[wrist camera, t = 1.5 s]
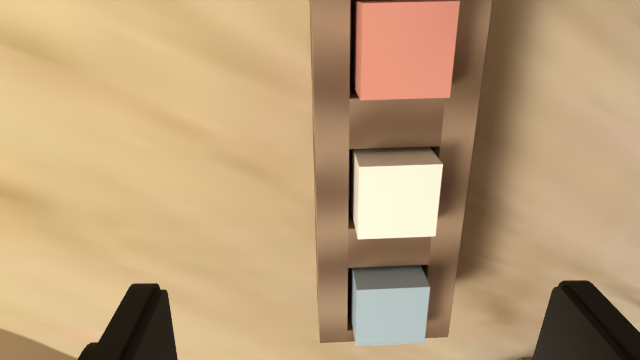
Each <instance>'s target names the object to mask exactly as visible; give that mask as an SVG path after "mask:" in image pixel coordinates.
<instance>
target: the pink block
mask: <svg viewBox="0 0 640 360" xmlns="http://www.w3.org/2000/svg"><path fill="white" fill-rule="evenodd" d="M459 6H460V1H456V0H354V9H353V87H354V89H355V90H356V92H357V94H358V96H359V98H360V100H389V99H424V98H450V92H451V83H452V73H453V63H454V54H455V44H456V35H457V25H458V15H459Z"/></svg>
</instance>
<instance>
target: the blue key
mask: <svg viewBox="0 0 640 360" xmlns="http://www.w3.org/2000/svg"><path fill="white" fill-rule="evenodd" d="M429 293H430V285H429V283H428V281H427V278H426V276H425V274H424V271H423V269H422V267H421V265H407V266H382V267H358V268H350V313H351V320H352V326H353V332H354V339H355V345H356V346H370V345H391V344H413V343H424V341H425V332H426V322H427V313H428V303H429Z"/></svg>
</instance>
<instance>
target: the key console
mask: <svg viewBox="0 0 640 360" xmlns="http://www.w3.org/2000/svg"><path fill="white" fill-rule="evenodd" d="M456 1H460V6H459V15H458V25H457V35H456V44H455V54H454V63H453V73H452V83H451V92H450V98H424V99H389V100H360V98H359V96H358V94H357V92H356V90H355V89H354V87H353V9H354V0H310V29H311V68H312V107H313V147H314V186H315V225H316V264H317V297H318V314H319V332H320V343H328V342H349V341H355V339H354V332H353V326H352V320H351V313H350V268H358V267H382V266H407V265H421V267H422V269H423V271H424V274H425V276H426V278H427V281H428V283H429V285H430V293H429V303H428V313H427V322H426V332H425V338H436V337H448V333H449V325H450V317H451V310H452V302H453V295H454V287H455V280H456V272H457V265H458V257H459V249H460V242H461V234H462V227H463V219H464V212H465V204H466V196H467V189H468V181H469V174H470V166H471V159H472V151H473V144H474V136H475V128H476V121H477V113H478V106H479V98H480V91H481V83H482V75H483V68H484V60H485V53H486V45H487V38H488V30H489V23H490V15H491V7H492V0H456ZM398 147H430V148H431V150H432V151H433V152H434V153H435V155H436V156H437V157H438V158H439V160H440V161H441V162H442V164H443V169H442V178H441V188H440V198H439V207H438V217H437V226H436V236H433V237H407V238H381V239H358V238H357V234H356V229H355V225H354V221H353V216H352V212H351V172H352V149H367V148H398Z"/></svg>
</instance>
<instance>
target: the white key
mask: <svg viewBox="0 0 640 360" xmlns="http://www.w3.org/2000/svg"><path fill="white" fill-rule="evenodd" d="M442 169H443V164H442V162H441V161H440V160H439V158H438V157H437V156H436V155H435V153H434V152H433V151H432V150H431V148H430V147H398V148H367V149H352V172H351V212H352V216H353V221H354V225H355V229H356V234H357V238H358V239H381V238H407V237H433V236H436V226H437V217H438V207H439V198H440V188H441V178H442Z"/></svg>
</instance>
